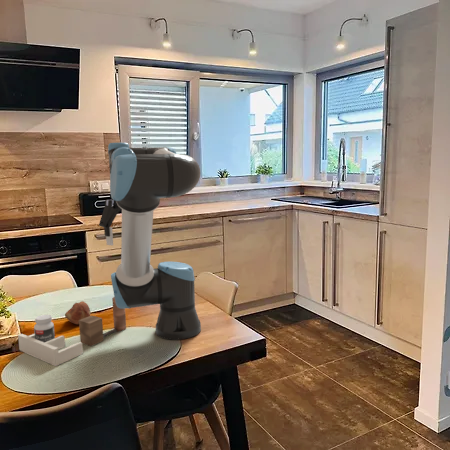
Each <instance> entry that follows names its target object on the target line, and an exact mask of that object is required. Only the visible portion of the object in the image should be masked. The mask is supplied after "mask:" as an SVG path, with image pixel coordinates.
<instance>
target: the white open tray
mask: <svg viewBox="0 0 450 450" xmlns="http://www.w3.org/2000/svg"><path fill="white" fill-rule="evenodd" d="M17 338H18V347H19V351H20V352H23V353H25V354H27V355H30V356H32V357H34V358H36V359H38V360H41V361H43V362H45V363H48V364H49V365H52V366H54V367H57V366H60V365H62V364H64V363H66V362H68V361H70V360H72V359H74V358H76V357H79V356H81V355H84V354H83V353H84V352H83V351H84V349H83V343H81V341H79V342H78V341H77V342H76V343H74V344H71V345H68V346H67V347H66V341H65V338H66V337H65V335H60V336H57V337H55V338H54V339H52V340H49V341H47V342H42V341H39V340H37V339H35V334H34V333H32V334H30V335H26V334H23V333H19V334H18V335H17Z"/></svg>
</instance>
